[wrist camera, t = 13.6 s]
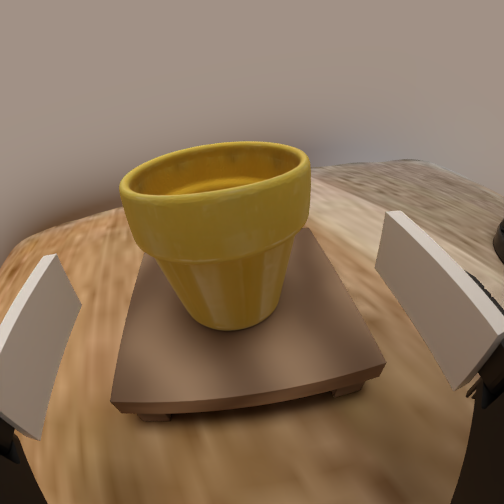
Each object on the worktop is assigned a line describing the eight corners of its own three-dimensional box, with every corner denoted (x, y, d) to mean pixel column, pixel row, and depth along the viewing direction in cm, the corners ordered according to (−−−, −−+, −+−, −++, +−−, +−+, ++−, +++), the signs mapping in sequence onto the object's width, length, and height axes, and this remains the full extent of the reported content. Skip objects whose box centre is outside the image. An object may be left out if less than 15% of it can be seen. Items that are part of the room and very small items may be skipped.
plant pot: (178, 256, 24) (155, 148, 19) (296, 252, 24) (297, 136, 18) (144, 351, 16) (81, 209, 10) (314, 352, 15) (332, 189, 10)
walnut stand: (307, 260, 29) (308, 227, 27) (369, 393, 16) (386, 362, 14) (156, 281, 28) (145, 249, 26) (136, 426, 15) (110, 401, 13)
